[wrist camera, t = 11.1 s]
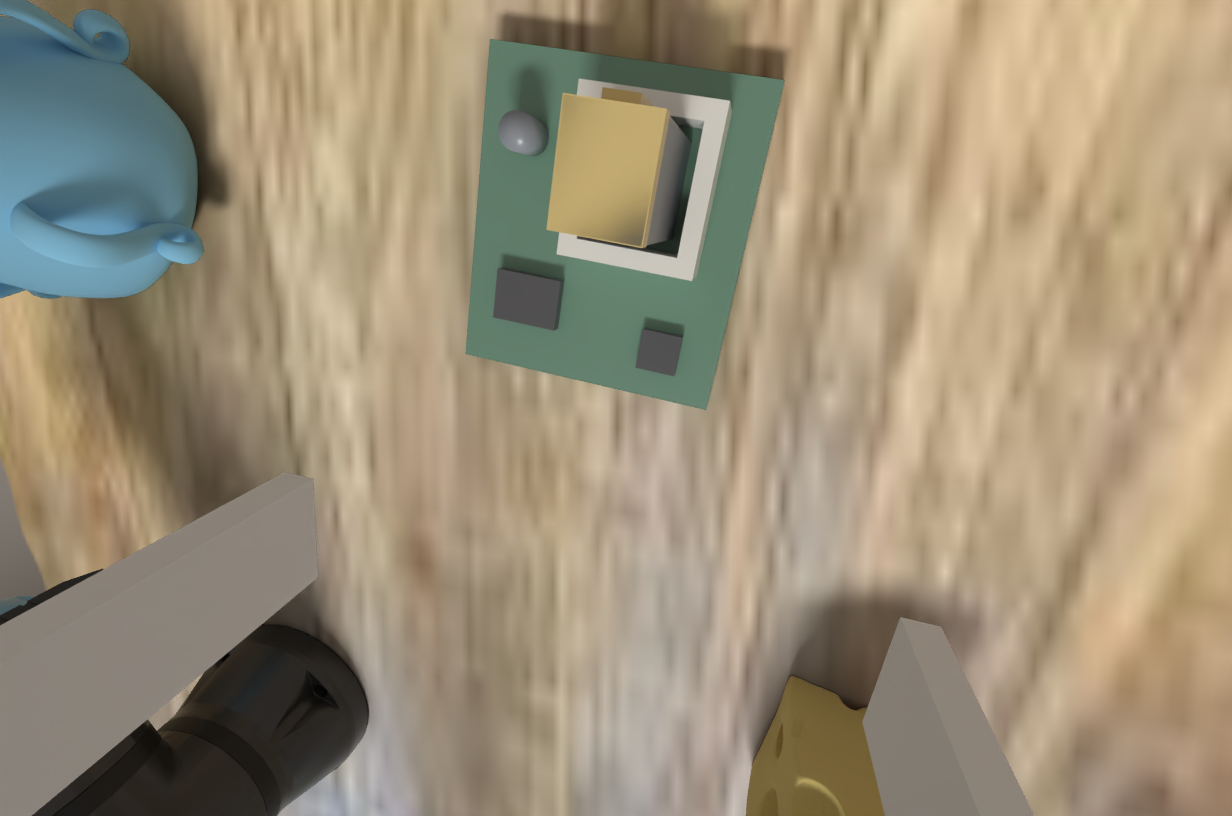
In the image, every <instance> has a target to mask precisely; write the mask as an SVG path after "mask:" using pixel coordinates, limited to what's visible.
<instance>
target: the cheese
mask: <svg viewBox="0 0 1232 816" xmlns="http://www.w3.org/2000/svg"><path fill="white" fill-rule="evenodd" d="M866 710H867V708H864V707H863V708H861V709H858V710H852V709H850V708H848V707H847V706H845V705H844V704H843V703H842V701H841V699H840V697H839V696H838V695H837V694H835V693H833V692H831V691H828V690H826V689H823V688H821V687H818V686H816V685H813V684H811V683H809V682H807V681H804V680H802V679H800V678H797V677H794V676H790V678H789V679H788V682H787V684H786V686H785V689H784V693H783V696H782V699H781V702H780V705H779V708H778V710H777V713H776V715H775V717H774V719H773V721H772V723H771V726H770V728H769V730H768V732H767V734H766V737H765V739H764V741H763V743H762V745H761V747H760V749H759V751H758V753H757V755H756V757H755V759H754V762H753V764H752V769H751V776H750V782H749V788H748V796H747V807H746V816H885V814H884V809H883V805H882V801H881V797H880V793H879V789H878V785H877V780H876V776H875V772H874V768H873V764H872V760H871V756H870V751H869V747H868V743H867V739H866V735H865V731H864V727H863V722H862V721H863V718H864V716H865V713H866Z"/></svg>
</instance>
